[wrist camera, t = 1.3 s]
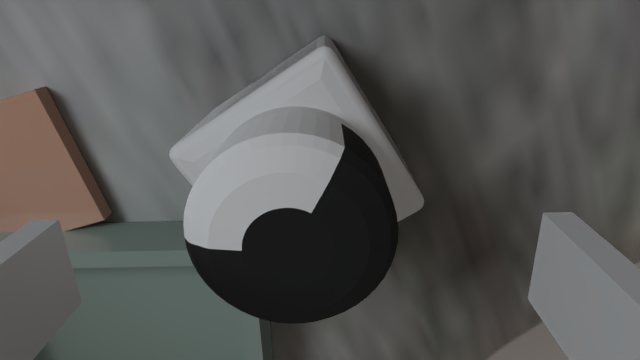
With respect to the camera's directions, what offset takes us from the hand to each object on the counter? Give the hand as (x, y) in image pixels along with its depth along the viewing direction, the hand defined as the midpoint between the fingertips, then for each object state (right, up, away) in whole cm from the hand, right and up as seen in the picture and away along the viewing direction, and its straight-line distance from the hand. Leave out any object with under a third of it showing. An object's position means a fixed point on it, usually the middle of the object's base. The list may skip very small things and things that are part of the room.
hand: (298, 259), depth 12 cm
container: (0, +5, +13) cm, 14 cm away
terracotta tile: (-17, +3, +14) cm, 22 cm away
